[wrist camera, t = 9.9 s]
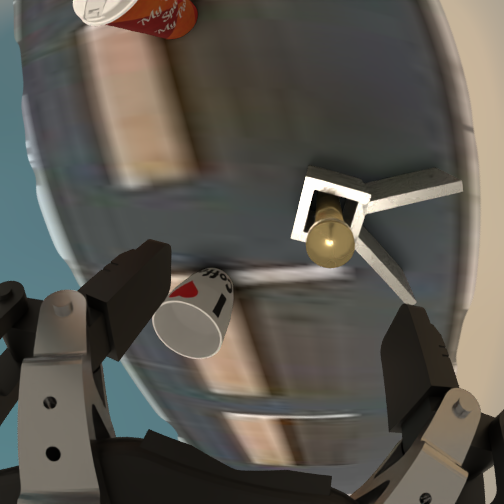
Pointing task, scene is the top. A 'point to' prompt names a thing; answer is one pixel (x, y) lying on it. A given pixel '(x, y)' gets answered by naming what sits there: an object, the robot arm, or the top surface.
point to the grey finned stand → (372, 200)
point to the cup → (196, 314)
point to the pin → (329, 234)
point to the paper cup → (140, 15)
